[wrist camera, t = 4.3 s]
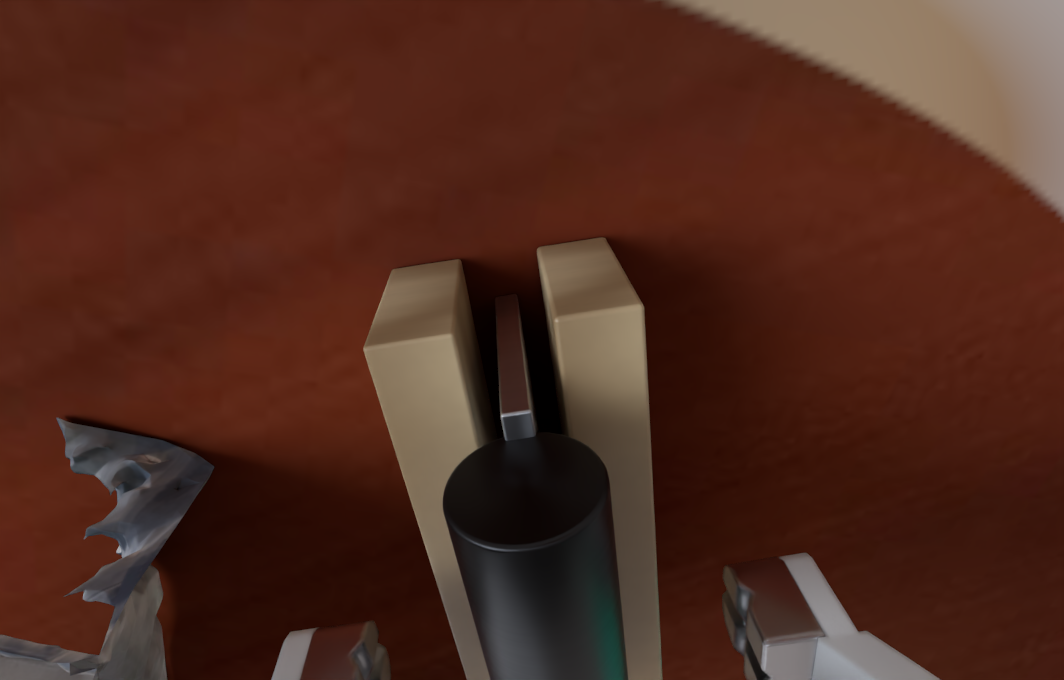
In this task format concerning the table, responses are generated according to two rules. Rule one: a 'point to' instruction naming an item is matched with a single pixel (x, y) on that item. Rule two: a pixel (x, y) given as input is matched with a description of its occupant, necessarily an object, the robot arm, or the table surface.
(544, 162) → the table surface
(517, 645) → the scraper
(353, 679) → the robot arm
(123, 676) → the grey irregular piece
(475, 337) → the knife stand
